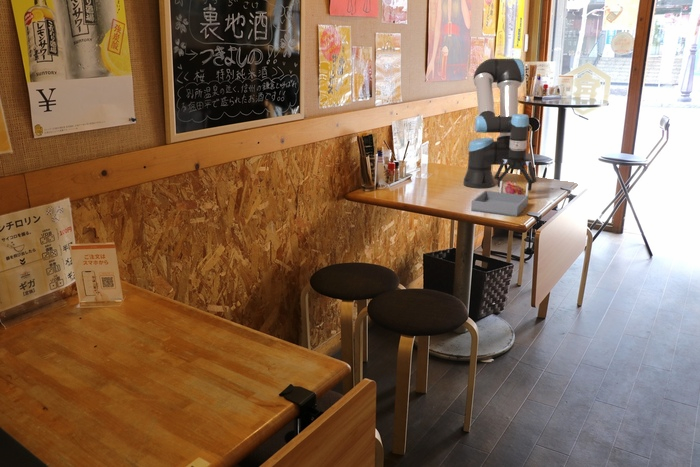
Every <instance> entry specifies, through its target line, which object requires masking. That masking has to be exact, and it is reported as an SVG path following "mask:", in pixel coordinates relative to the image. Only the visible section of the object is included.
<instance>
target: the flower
mask: <svg viewBox="0 0 700 467" xmlns="http://www.w3.org/2000/svg"><path fill="white" fill-rule="evenodd" d="M505 183H506V186H505V187H504V191H505V192H504V193H509V194H518V195H525V193H524V192H523V191H524V188H523V187H521V186H519V185H518V184H517V182H513V181H511V180H508V181H506V182H505Z"/></svg>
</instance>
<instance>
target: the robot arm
mask: <svg viewBox="0 0 700 467" xmlns="http://www.w3.org/2000/svg"><path fill="white" fill-rule="evenodd" d="M525 73H526V72H525V65H524V61H523V60H522V59H520V58H514V57H512V58H488V59H485V60H484V61H483V62H481V63H480V64H479V65H478V66H477V67H476V69H475V72H474V74H473V84H474V86H475V87H476V89H475V90H476V98H477V99H476V100H477V110H478V116H476V117H475V120H474V130H475V132H476V133H483V134H486V133H487V134H488V133H493V134H495V133H498V134H499V135H498V136H497V137H496V140H494V139H493V138H492V137H482V138H475V139H472V140H471V141H470V142H469V145H468V158H467V160H468V162H467V163H468V164H467V170H466V173H465V176H464V178H463V181H462V182H463V183H462V184H463V185H464V187H468V188H474V189H488V188H492V187H493V186H495V180H497V188H499V191H498V192H501V193H504V191H503V189H504V180H503V179H504V177H505V176H506V175H507V174H508V173H509V171H510V170H516V171H520V172H522V175H523V176H524V178H525V180H526V182H527V183H526V187H525V195H526V196H528V197H529V195H530V192H531V190H532V186H533V184H535V183H537V178H536V173H535V172H534V168H533V161H532V160H530V161H528V160H527V159H526V154H527V148H528V147H527V145H528V134H529V133H528V132H529V125H530V119H529V118H530V116H529V115H528V114H523V113H519V112H518V111H519V110H518V106H519V105H518V104H519V102H518V101H519V100H518V99H519V98H518V97H519V96H518V95H519V94H518V92H519V89H518V88H520V87H521V85H522V83H523V82H524V81H525ZM493 83H496V87H497V89H499V116H498V115H496V112H495V111H496V110H495V101H494V94H493V92H494V91H493ZM492 165H494V166H495V165H496V166H499V167H498V169H497V170H496V173H495V176H493V171H492ZM504 166H507V167H506V169H505V170H504V172H503V173H502V170H503V168H504ZM525 166H527V168H528V171H527V170H526V168H525ZM528 172H529V173H528ZM501 173H502V174H501ZM500 174H501V175H500Z"/></svg>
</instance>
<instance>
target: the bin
mask: <svg viewBox="0 0 700 467" xmlns="http://www.w3.org/2000/svg"><path fill="white" fill-rule="evenodd" d="M470 206H471V207H470V208H471V209H470V210H471V212H477V213H485V214H491V215H498V216H499V215H500V216H505V217H506V216H507V217H512V218H513V217H514V218H518V217H519V215H520V214H522V212H523V211H524V210H525V209H526V208H527V207H528V206H529V195H528V196H526V194H521V195H518V194H509V193H506V192H502V193H501V192H499V191H490V190H484V191H483V192H482V193H481V192H480V194H479V195H477V196H476V197H474V198H473V199H472V200H471V205H470Z"/></svg>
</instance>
